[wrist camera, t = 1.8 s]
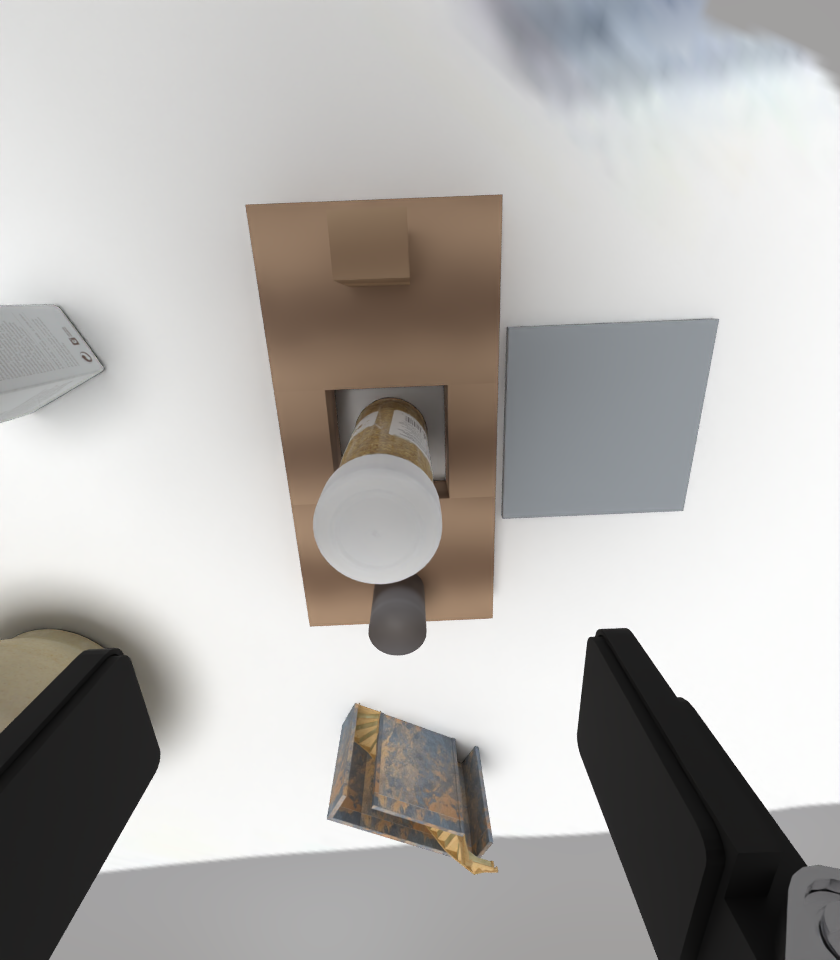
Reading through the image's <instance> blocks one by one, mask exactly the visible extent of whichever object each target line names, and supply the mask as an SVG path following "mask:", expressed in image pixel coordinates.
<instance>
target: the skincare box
mask: <svg viewBox="0 0 840 960" xmlns="http://www.w3.org/2000/svg"><path fill="white" fill-rule="evenodd" d="M103 370H104V368H103V366H102V365H101V363H100V362H99V361H98V359H97V358H96V356H95V355H94V353H93V352H92V350H91V349H90V347H89V346H88V345H87V344H86V342H85V341H84V340H83V338H82V337H81V336H80V334H79V333H78V331H77V330H76V329H75V327H74V326H73V325H72V323H71V322H70V321H69V319H68V318H67V317H66V316H65V314H64V313H63V312H62V310H61V309H60V308H59V307H57V306H55V305H51V304H43V305H0V423H2V422H5V421H9V420H12V419H15V418H18V417H21V416H24V415H28V414H31V413H33V412H34V411H36V410H38V409H39V408H41V407H43V406H44V405H46V404H48V403H50V402H51V401H53V400H55V399H56V398H58V397H60V396H61V395H63V394H65V393H66V392H68V391H70V390H72V389H73V388H75V387H77V386H78V385H80V384H82V383H83V382H85V381H87V380H89V379H90V378H92V377H94V376H95V375H97V374H99V373H100V372H102V371H103Z"/></svg>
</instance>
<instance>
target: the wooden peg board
mask: <svg viewBox="0 0 840 960" xmlns="http://www.w3.org/2000/svg"><path fill="white" fill-rule="evenodd" d="M246 212H247V218H248V225H249V231H250V238H251V244H252V251H253V258H254V264H255V271H256V277H257V284H258V290H259V297H260V303H261V310H262V316H263V323H264V329H265V336H266V342H267V349H268V356H269V362H270V369H271V375H272V382H273V388H274V395H275V401H276V408H277V414H278V421H279V427H280V434H281V440H282V447H283V453H284V460H285V467H286V473H287V480H288V486H289V493H290V499H291V506H292V512H293V519H294V525H295V532H296V538H297V545H298V551H299V558H300V564H301V571H302V578H303V584H304V591H305V597H306V604H307V610H308V617H309V623H310V626H331V625H353V624H369V638H370V640H371V642H372V644H373V645H374V646H375V647H376V648H377V649H378V650H380V651H382V652H384V653H386V654H390V655H405V654H409V653H411V652H413V651H415V650H417V649H418V648H419V647H420V646H421V645H422V644H423V642H424V640H425V638H426V621H443V620H466V619H488V618H493V576H494V533H495V491H496V449H497V406H498V364H499V322H500V279H501V237H502V195H479V196H454V197H428V198H403V199H378V200H352V201H327V202H301V203H276V204H250V205H246ZM437 385H444V412H445V466H446V480H442V481H433V484H434V486H435V488H436V491H437V493H438V496H439V501H440V507H441V515H442V534H441V540H440V543H439V546H438V548H437V550H436V552H435V554H434V556H433V557H432V558H431V560H430V561H429V562H428V563H427V564H426V566H425V567H424V568H423V569H421V570H420V571H418V572H417V573H416V574H414V575H412V576H410V577H408V578H406V579H404V580H401V581H398V582H394V583H388V584H370V583H364V582H360V581H357V580H354V579H351V578H349V577H347V576H345V575H343V574H341V573H340V572H338V571H337V570H336V569H335V568H333V567H332V566H331V565H330V564H329V563H328V562H327V561H326V559H325V558H324V557H323V555H322V554H321V552H320V550H319V548H318V546H317V543H316V540H315V537H314V531H313V517H314V512H315V508H316V505H317V503H318V500H319V498H320V495H321V493H322V491H323V489H324V487H325V485H326V483H327V481H328V480H329V478H330V477H331V476H332V474H333V473H334V472H335V471H336V470H337V469H338V468H339V467H340V464H341V460H342V456H341V447H340V437H339V428H338V418H337V409H336V399H335V390H341V389H365V388H389V387H413V386H437Z"/></svg>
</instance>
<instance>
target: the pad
mask: <svg viewBox="0 0 840 960" xmlns="http://www.w3.org/2000/svg"><path fill="white" fill-rule="evenodd" d="M718 322H719V319H697V320H673V321H648V322H624V323H599V324H575V325H550V326H526V327H507V340H506V374H505V408H504V442H503V477H502V511H501V516H502V518H503V519H507V518H530V517H554V516H577V515H600V514H623V513H646V512H669V511H683V509H684V503H685V498H686V493H687V487H688V482H689V477H690V471H691V466H692V461H693V455H694V450H695V445H696V439H697V434H698V429H699V423H700V418H701V413H702V407H703V402H704V397H705V391H706V386H707V381H708V375H709V370H710V365H711V359H712V354H713V349H714V343H715V338H716V333H717V327H718Z"/></svg>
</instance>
